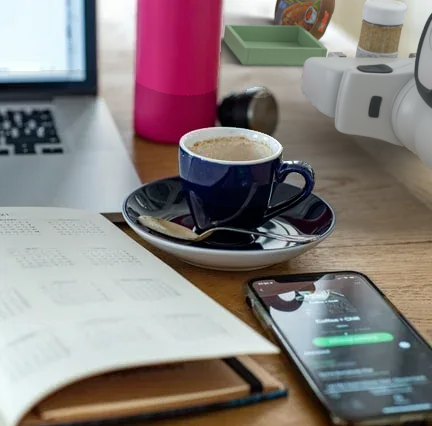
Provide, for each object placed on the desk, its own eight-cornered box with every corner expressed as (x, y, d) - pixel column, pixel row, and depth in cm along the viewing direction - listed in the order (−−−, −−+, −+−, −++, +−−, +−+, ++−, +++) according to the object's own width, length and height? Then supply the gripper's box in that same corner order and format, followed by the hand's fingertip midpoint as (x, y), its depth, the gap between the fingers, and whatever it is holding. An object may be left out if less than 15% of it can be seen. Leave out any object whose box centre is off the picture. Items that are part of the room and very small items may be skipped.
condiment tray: (298, 44, 127) (301, 25, 126) (324, 68, 117) (327, 49, 116) (223, 43, 126) (225, 24, 124) (242, 67, 116) (244, 47, 114)
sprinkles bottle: (371, 111, 103) (394, -4, 97) (391, 125, 99) (416, 7, 93) (336, 113, 102) (356, -3, 96) (355, 127, 98) (378, 8, 92)
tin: (268, 19, 137) (285, -35, 134) (286, 23, 138) (304, -30, 135) (303, 48, 124) (323, -11, 121) (323, 52, 125) (344, -7, 122)
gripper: (535, 72, 86) (468, 32, 98) (333, 71, 83) (290, 30, 95) (518, 133, 89) (455, 86, 101) (323, 133, 86) (282, 85, 98)
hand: (373, 59), depth 98 cm, fingers open, 8 cm apart
